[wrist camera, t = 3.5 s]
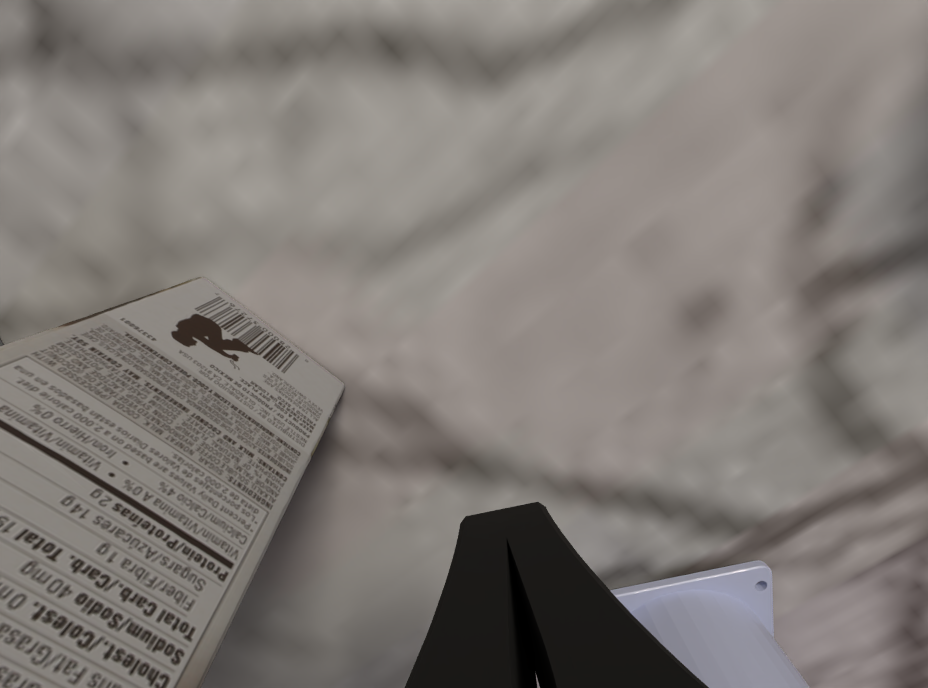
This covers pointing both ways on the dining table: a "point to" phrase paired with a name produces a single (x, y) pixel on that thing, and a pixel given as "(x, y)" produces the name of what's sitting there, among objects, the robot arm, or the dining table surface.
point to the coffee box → (144, 484)
